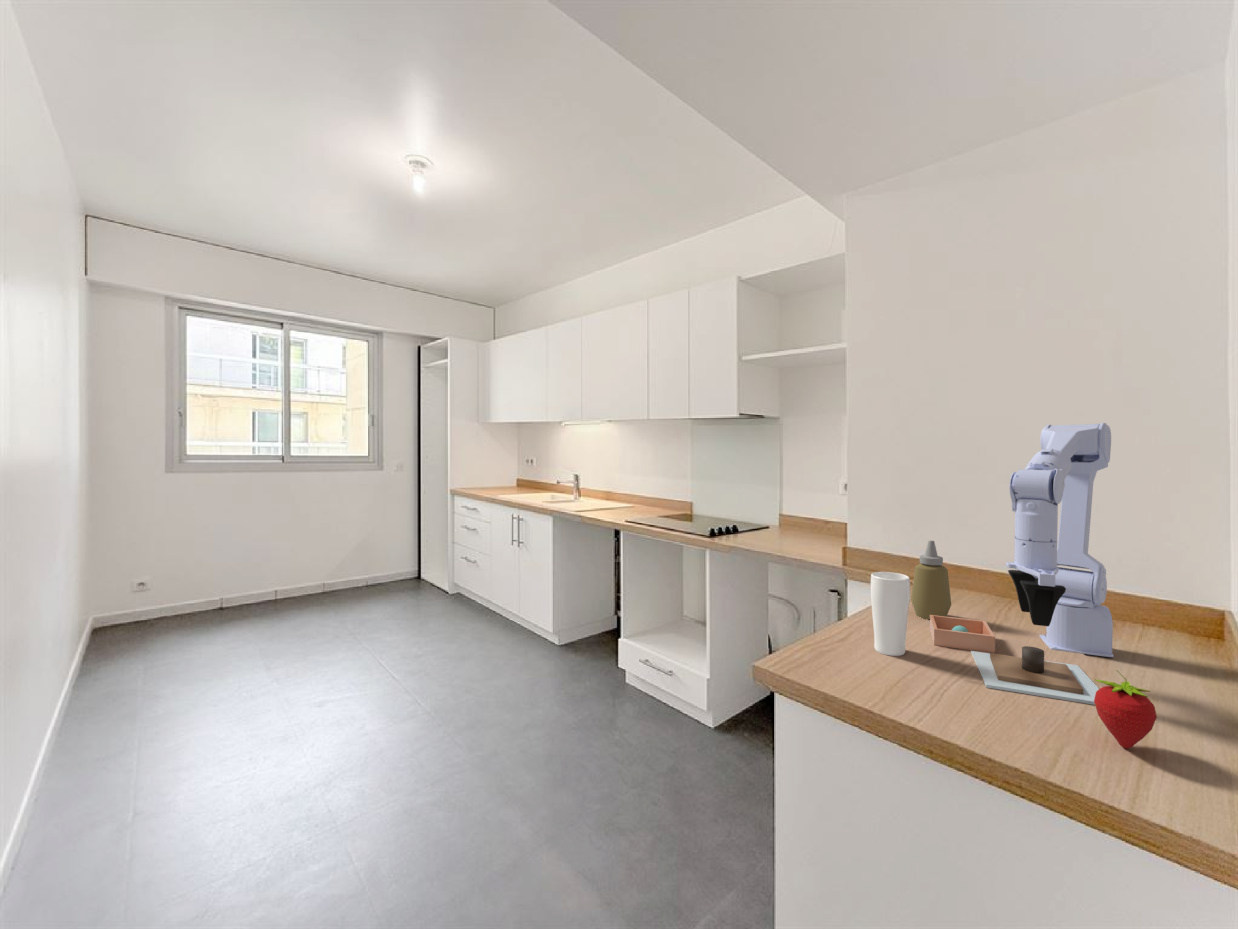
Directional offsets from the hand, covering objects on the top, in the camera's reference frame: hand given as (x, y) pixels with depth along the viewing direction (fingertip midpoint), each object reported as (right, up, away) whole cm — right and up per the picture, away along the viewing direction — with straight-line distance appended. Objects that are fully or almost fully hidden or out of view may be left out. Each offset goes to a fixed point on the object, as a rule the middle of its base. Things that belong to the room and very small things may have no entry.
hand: (1034, 618), depth 90 cm
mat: (0, -10, 0) cm, 10 cm away
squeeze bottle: (+1, -10, +32) cm, 33 cm away
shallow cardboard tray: (-2, -10, +17) cm, 20 cm away
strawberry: (-5, -11, -21) cm, 24 cm away
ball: (-2, -10, +17) cm, 19 cm away
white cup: (-19, -10, +12) cm, 24 cm away
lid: (0, -10, 0) cm, 10 cm away
